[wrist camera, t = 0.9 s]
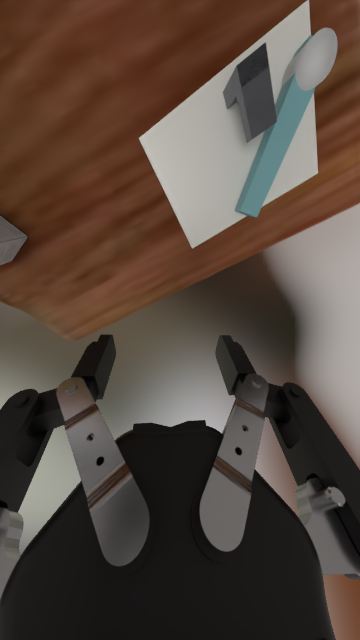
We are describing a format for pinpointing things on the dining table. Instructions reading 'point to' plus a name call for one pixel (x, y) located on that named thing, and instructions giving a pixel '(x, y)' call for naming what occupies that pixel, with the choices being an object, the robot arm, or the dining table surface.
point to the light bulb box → (9, 241)
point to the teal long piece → (288, 116)
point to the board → (227, 142)
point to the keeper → (252, 93)
